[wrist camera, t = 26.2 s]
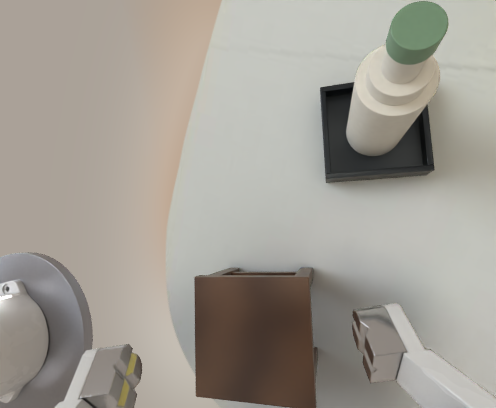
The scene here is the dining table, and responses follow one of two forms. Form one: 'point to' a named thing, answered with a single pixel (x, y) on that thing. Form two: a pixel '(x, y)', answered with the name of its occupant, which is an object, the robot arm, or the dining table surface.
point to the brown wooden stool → (255, 337)
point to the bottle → (396, 79)
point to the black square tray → (361, 166)
